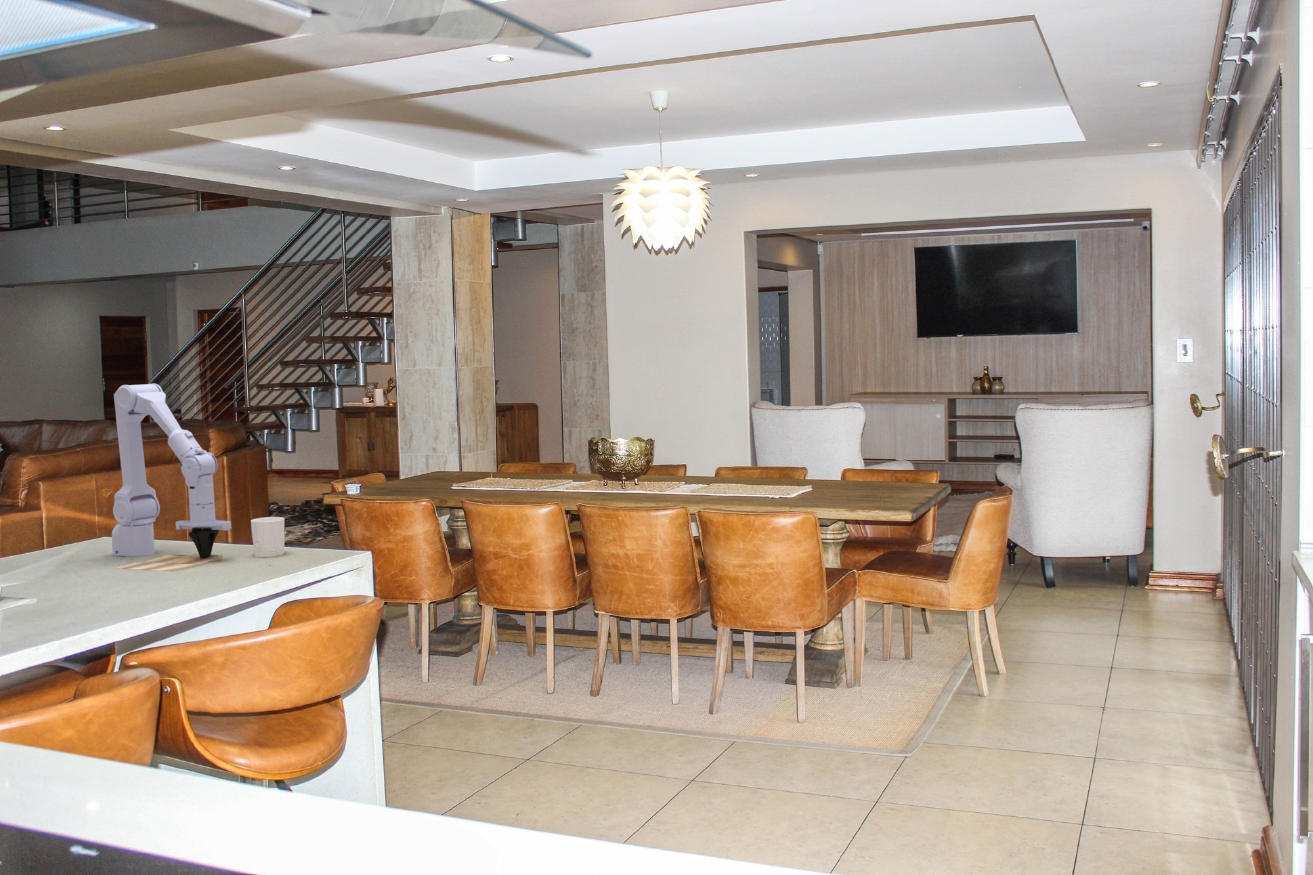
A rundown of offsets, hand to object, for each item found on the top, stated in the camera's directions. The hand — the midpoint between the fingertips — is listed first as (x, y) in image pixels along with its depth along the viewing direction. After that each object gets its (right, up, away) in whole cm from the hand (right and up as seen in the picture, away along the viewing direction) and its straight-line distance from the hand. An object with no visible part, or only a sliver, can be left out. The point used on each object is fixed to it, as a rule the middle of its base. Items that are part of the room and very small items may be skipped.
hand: (205, 558), depth 277 cm
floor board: (-8, -2, -8) cm, 11 cm away
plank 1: (-9, -1, +1) cm, 9 cm away
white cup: (+14, -1, +5) cm, 15 cm away
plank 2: (-1, -1, -1) cm, 2 cm away
